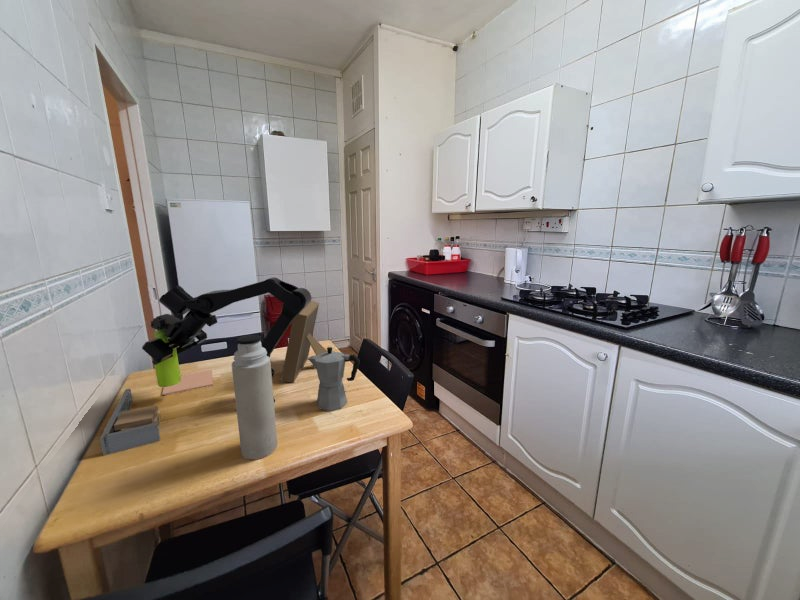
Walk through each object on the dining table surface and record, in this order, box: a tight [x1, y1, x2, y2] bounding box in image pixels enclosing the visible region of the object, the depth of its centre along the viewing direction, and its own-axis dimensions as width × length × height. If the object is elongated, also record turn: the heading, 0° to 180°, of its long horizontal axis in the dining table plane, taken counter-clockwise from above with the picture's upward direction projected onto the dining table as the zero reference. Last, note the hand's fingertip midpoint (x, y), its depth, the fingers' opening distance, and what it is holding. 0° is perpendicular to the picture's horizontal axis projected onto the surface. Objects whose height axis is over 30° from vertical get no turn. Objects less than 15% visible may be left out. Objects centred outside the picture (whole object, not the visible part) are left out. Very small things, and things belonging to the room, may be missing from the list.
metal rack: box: [99, 388, 161, 456], centre depth 88 cm, size 28×11×4 cm, turn 31°
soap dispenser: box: [153, 330, 182, 388], centre depth 96 cm, size 6×7×20 cm
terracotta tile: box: [161, 369, 214, 397], centre depth 112 cm, size 14×14×1 cm
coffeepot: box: [307, 346, 361, 412], centre depth 96 cm, size 15×9×18 cm, turn 90°
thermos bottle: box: [231, 334, 278, 460], centre depth 74 cm, size 8×8×28 cm
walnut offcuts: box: [114, 405, 162, 431], centre depth 85 cm, size 8×8×4 cm
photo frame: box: [280, 300, 328, 384], centre depth 120 cm, size 15×22×25 cm
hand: (162, 359), depth 97 cm, fingers closed on soap dispenser, 6 cm apart
